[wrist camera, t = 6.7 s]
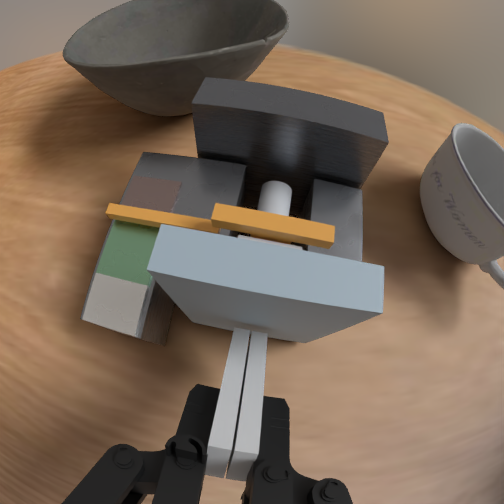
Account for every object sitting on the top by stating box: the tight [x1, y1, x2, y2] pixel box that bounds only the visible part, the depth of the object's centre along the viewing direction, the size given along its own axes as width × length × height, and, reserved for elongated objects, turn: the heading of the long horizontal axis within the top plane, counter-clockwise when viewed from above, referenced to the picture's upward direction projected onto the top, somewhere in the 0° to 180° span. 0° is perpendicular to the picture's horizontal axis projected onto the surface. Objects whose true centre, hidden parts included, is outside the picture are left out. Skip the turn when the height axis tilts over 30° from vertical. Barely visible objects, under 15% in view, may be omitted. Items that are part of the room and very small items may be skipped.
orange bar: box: [106, 203, 335, 249], centre depth 13 cm, size 11×1×2 cm, turn 80°
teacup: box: [420, 123, 504, 289], centre depth 18 cm, size 14×11×8 cm
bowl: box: [63, 0, 289, 116], centre depth 21 cm, size 19×19×10 cm
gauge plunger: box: [147, 181, 384, 343], centre depth 14 cm, size 7×8×10 cm
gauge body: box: [80, 77, 389, 346], centre depth 15 cm, size 14×13×9 cm
